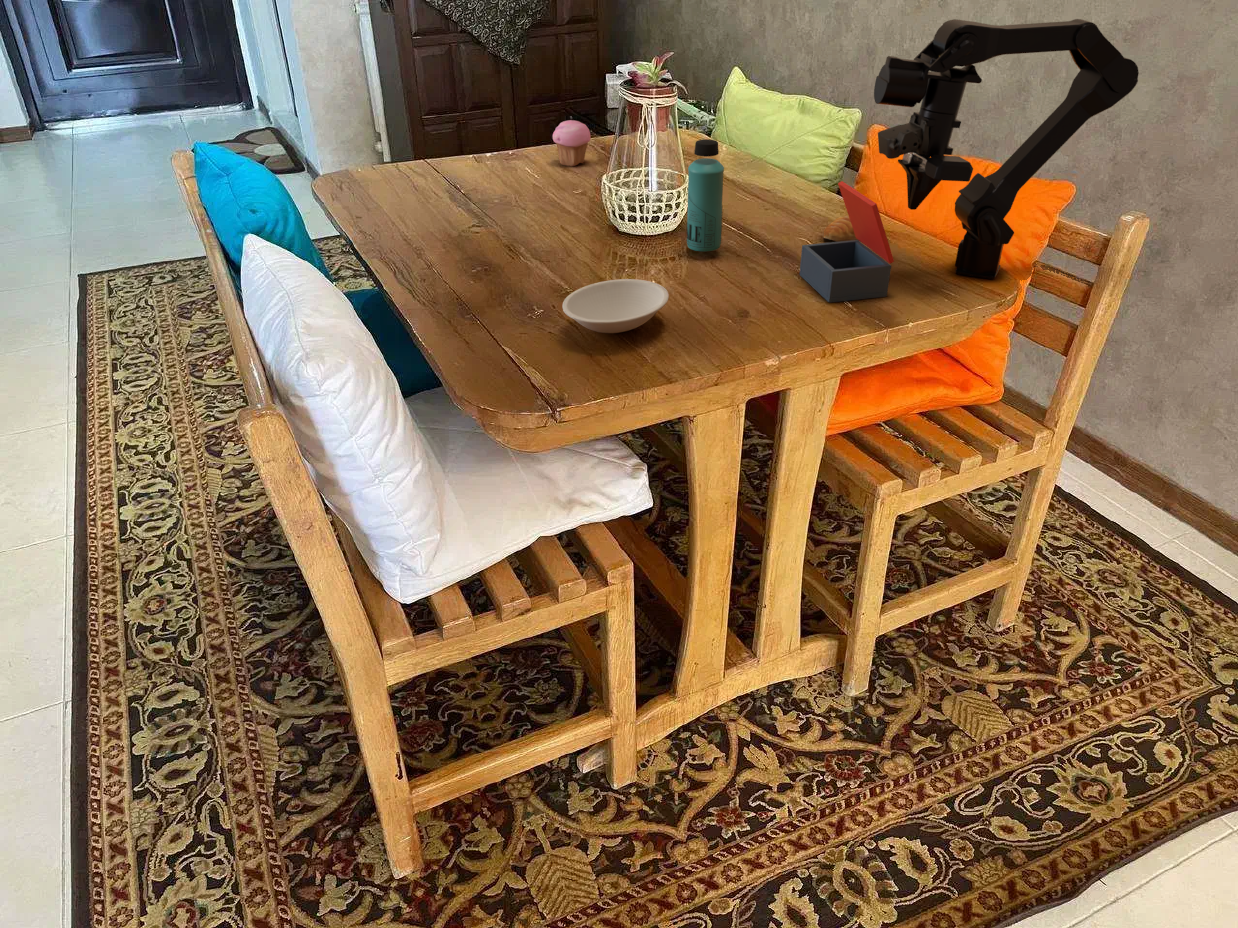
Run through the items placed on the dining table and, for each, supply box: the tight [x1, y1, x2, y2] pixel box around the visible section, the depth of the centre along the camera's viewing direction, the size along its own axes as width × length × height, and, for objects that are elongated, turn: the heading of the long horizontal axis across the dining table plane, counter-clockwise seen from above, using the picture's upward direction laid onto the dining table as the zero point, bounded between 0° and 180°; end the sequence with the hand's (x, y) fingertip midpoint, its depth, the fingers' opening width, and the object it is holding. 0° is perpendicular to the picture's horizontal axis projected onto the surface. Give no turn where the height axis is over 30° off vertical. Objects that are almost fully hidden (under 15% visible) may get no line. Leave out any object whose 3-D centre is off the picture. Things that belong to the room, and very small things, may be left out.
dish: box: [562, 278, 670, 334], centre depth 139 cm, size 18×14×5 cm
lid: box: [837, 180, 895, 264], centre depth 148 cm, size 11×13×1 cm
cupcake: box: [552, 119, 592, 167], centre depth 217 cm, size 9×9×10 cm
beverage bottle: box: [685, 138, 725, 252], centre depth 161 cm, size 6×7×20 cm
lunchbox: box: [798, 240, 892, 303], centre depth 152 cm, size 10×13×5 cm
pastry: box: [823, 214, 859, 242], centre depth 172 cm, size 9×7×4 cm
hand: (911, 209), depth 151 cm, fingers closed
